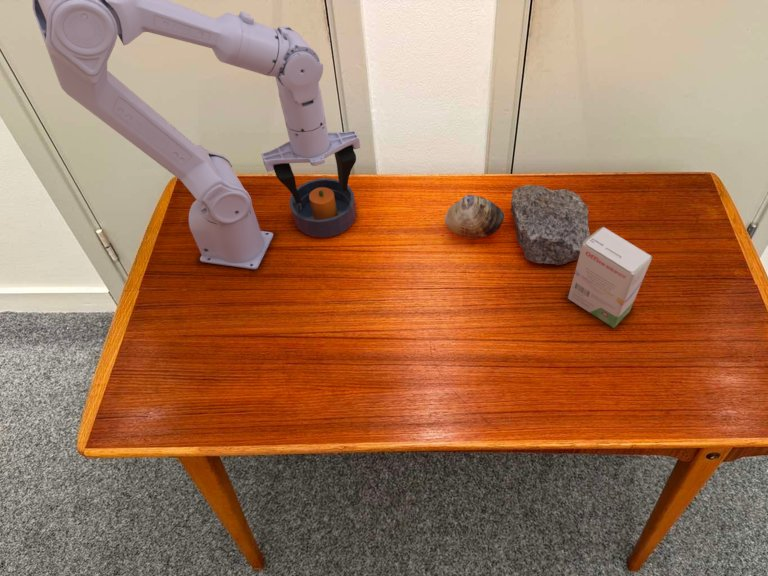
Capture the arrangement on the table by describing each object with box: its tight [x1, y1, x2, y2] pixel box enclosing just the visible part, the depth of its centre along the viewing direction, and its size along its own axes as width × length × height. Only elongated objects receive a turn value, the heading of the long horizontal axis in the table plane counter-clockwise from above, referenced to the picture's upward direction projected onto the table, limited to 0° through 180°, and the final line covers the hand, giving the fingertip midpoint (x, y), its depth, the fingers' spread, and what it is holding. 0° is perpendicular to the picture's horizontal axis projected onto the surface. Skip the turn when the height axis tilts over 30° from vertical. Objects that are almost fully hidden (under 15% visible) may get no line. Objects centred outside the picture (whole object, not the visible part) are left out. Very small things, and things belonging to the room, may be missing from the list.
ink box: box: [567, 226, 653, 329], centre depth 90 cm, size 9×5×12 cm, turn 47°
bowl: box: [289, 177, 358, 238], centre depth 104 cm, size 10×10×4 cm
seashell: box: [444, 194, 505, 240], centre depth 100 cm, size 10×6×8 cm, turn 87°
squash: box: [309, 187, 338, 220], centre depth 103 cm, size 4×4×5 cm
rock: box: [510, 184, 591, 266], centre depth 101 cm, size 13×6×15 cm
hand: (320, 193), depth 101 cm, fingers open, 7 cm apart
